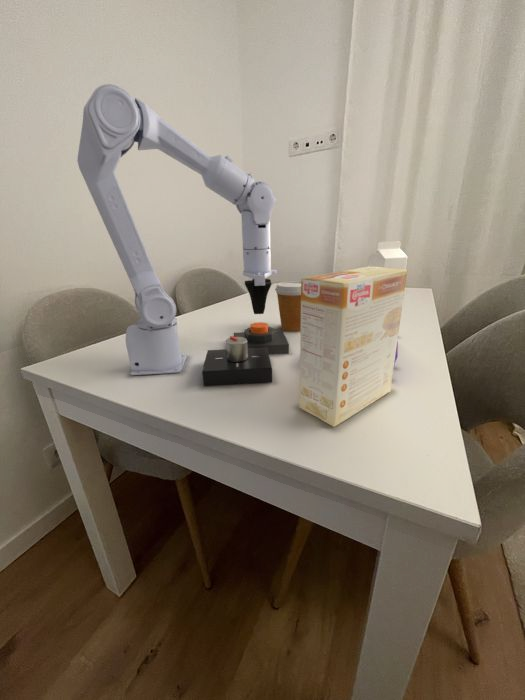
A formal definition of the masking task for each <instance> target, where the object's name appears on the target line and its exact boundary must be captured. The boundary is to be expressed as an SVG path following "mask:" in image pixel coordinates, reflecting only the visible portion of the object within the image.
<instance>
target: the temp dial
mask: <svg viewBox="0 0 525 700" xmlns="http://www.w3.org/2000/svg"><path fill="white" fill-rule="evenodd" d="M224 342H225V343H224V344H225V349H226V357H227V360H228V361H231V362H241V361H244V360H246V359H247V358H248V346H247V339H246V338H243V337H234V335H230V336H229V337H228V338H227V339H225V341H224Z"/></svg>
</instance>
